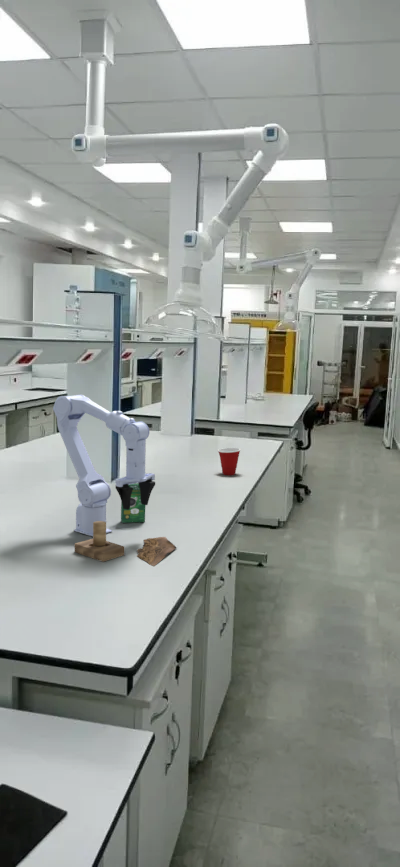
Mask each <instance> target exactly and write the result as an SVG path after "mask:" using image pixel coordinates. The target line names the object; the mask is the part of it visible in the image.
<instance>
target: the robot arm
mask: <svg viewBox="0 0 400 867" xmlns="http://www.w3.org/2000/svg"><path fill="white" fill-rule="evenodd" d="M52 409H53V412H54V415H55V417H56V423H57V426H56V427H57V430H58V431H59V432H58V433H59V434H60V437H61V438H62V441H63V445H64V446H65V448H66V450H67V453H68V456H69V457H70V460H71V462H72V464H73V467H74V469H75V472H76V475H77V476H78V481H77V483H76V484H75V487H76V491H77V498H78V501H79V504H78V506H76V509H75V510H76V511H75V528H73V531H74V532H76V533H80V534H83V535H87V536H89V537H93V522H96V521H104V522H106V523H107V503H108V500H109V499H110V497H111V496H112V489H111V486H110V484H109V483H108V482H106V480H105V478H104V476H103V475H101V474H100V473H98V472H97V471H96V469H95V467H94V465H93V463H92V462H93V461H92V460H91V458H90V455H89V453H88V450H87V448H86V445H85V443H84V441H83V438H82V437H81V434H80V432H79V430H78V424H79V422H80V421H81V420H82V418H83V417H84V416H85V414H87V415H89V416H91V417H94V418H96V419H99V421H102V422H104V423H105V426H106V428H108V429H110V430H111V431H113V432H115V433H117V434H119V435H120V436H122V438H123V440H124V442H125V448H126V449H125V450H126V452H125V453H126V454H125V455H126V456H125V457H126V460H125V461H126V462H125V464H126V465H125V471H126V472H125V476H123V477H120V478H117V479H115V490H116V491H117V494H118V495H119V497H120V501H122V505H123V509H127V510H129V509H130V500H131V494H132V491H133V488H131V487H129V486H128V485H130V484H135V483H138V484H139V487H140V493H141V504H143V505H145V506H148V505H149V501H150V497H151V493H152V491H153V489H154V487H155V486H156V481H155V480H156V479H155V478H156V476H155V473H152V472H151V473H146V449H147V448H146V444H147V443H146V442H147V439H148V437H149V435H150V428H149V426H148V424H147V423H145V422H144V421H143V420H140V421H139V420H138V421H136V420H135V418H134V417H129V416H127V415H125V414H124V413H123V411H121V410H113V411H110V410H107V409H106V408H104V407H103V406H101V405H99V404H98V403H96V402H95V401H93V400H91V399H90V397H88V396H85V395H84V394H81V393H80V394H75V395H59V396H58V397H57V398H56V400H55V402H54V404H53V407H52ZM112 531H113V530H112V529H109V528H106V534H109V533H111V532H112Z"/></svg>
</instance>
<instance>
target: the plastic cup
mask: <svg viewBox="0 0 400 867" xmlns="http://www.w3.org/2000/svg"><path fill="white" fill-rule="evenodd" d="M241 450H242V449H241V448H239V447H223V448H218V449H217V452H218V455H219V459H220V466H221V472H222V475H224V476H235V474H236V471H237V468H238V461H239V456H240V453H241Z"/></svg>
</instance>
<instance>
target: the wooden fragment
mask: <svg viewBox="0 0 400 867" xmlns="http://www.w3.org/2000/svg"><path fill="white" fill-rule="evenodd" d="M142 546H143V547H140V548H138V549H137V550H136V552H137V555H136V557H137V558H138V559H140V560H141V561H144V562H146V563H147V564H148V565H150V566H151V567H156V566H157V564H158V563H160V562H161V561H162V560H163V559H165V558H166V557H167V556H168V555H169V554H170V553H172V552H173V551H174V550H175V549H177V547H176V545H175V544H173V542H171V541H170V540H169V539H168V538H167V537H166V536H159V537H153V538H152V537H149V538H145V539H143V545H142Z"/></svg>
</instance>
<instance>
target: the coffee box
mask: <svg viewBox="0 0 400 867" xmlns="http://www.w3.org/2000/svg"><path fill="white" fill-rule="evenodd" d="M128 486H129V487H131V488H133V491H132V494H131V500H130V509H129V510H127V509H123V505H122V501H121V500H120V501H121V505H120V506H121V507H120V522H121V524H122V523H123V524H124V523H125V524H128V523H145V522H146V505H143V504H141V493H140V487H139V484H138V483H135V484H130V485H128Z"/></svg>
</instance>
